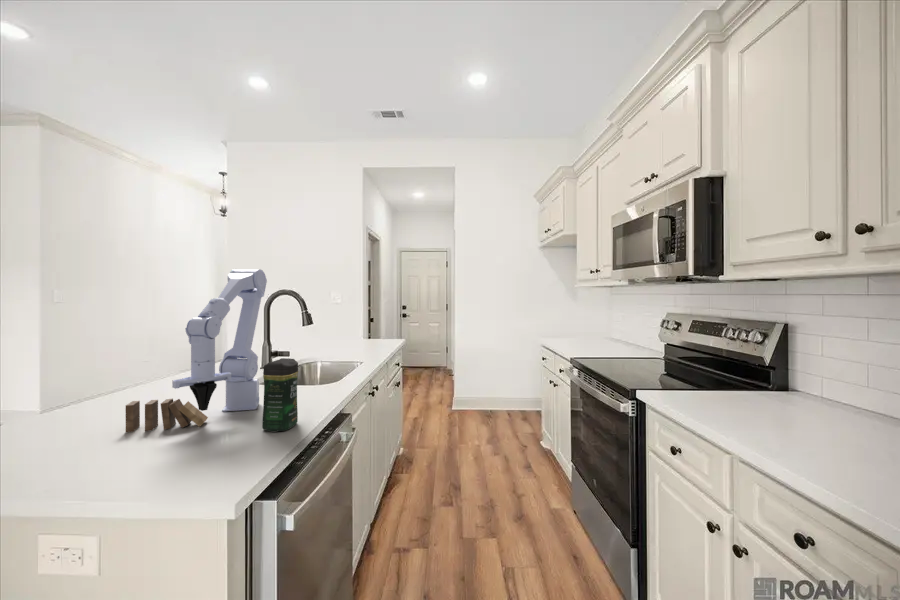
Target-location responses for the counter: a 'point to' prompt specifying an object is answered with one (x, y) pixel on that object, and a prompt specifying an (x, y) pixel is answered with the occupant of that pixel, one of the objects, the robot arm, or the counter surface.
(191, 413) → the tile
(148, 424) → the brown rectangular block
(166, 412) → the brown rectangular block
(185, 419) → the tile
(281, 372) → the coffee jar
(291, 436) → the counter surface
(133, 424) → the wood grain rectangular block
